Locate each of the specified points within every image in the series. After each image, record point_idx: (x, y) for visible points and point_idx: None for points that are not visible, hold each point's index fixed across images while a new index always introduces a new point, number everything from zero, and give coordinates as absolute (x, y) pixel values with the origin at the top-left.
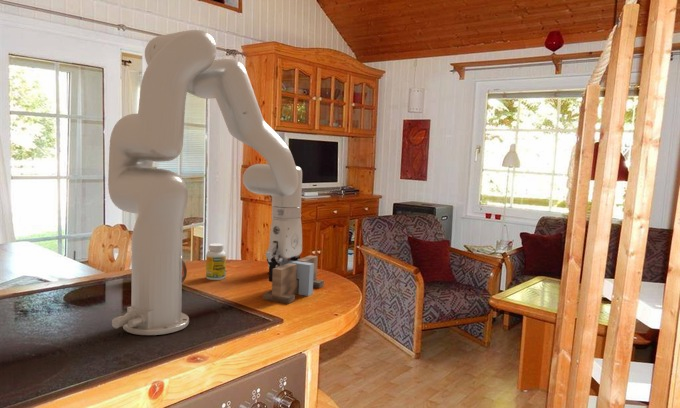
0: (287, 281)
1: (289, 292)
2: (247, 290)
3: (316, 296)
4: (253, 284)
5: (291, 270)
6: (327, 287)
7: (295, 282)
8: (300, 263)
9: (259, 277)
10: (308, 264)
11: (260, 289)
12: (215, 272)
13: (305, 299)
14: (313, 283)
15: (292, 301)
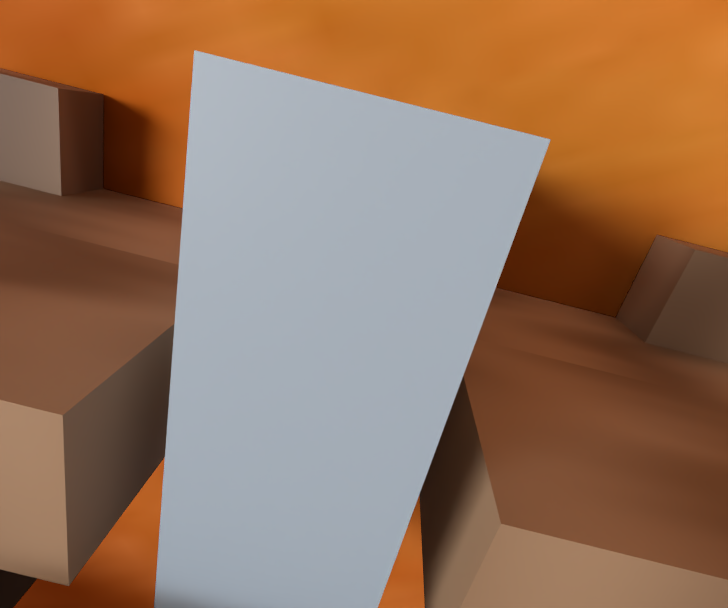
0: (723, 417)
1: (584, 325)
2: (413, 604)
3: (430, 43)
4: None
5: (709, 501)
6: (14, 4)
7: None
8: (397, 460)
9: (65, 602)
10: (453, 215)
11: None
12: None
13: (577, 139)
14: (75, 172)
15: (703, 246)
